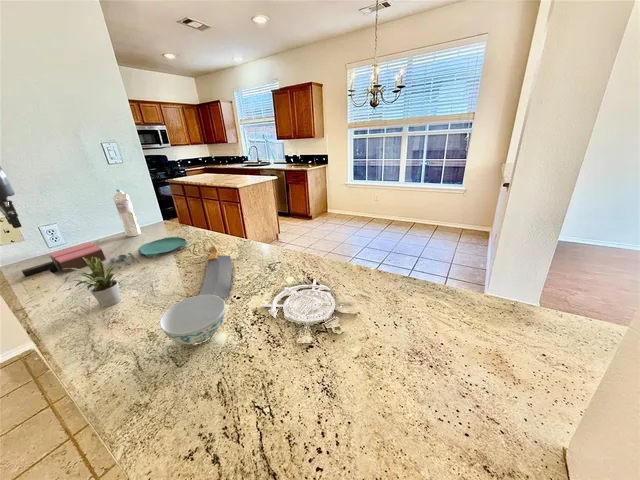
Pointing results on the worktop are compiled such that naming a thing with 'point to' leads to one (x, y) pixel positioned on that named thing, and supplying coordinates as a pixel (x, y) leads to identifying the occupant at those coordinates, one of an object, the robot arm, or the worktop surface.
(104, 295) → the house plant
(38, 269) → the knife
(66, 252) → the two-tone red slab
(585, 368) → the worktop surface
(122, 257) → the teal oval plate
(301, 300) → the pendant
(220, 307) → the chinaware
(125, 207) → the water bottle
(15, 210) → the robot arm
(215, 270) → the cleaver
